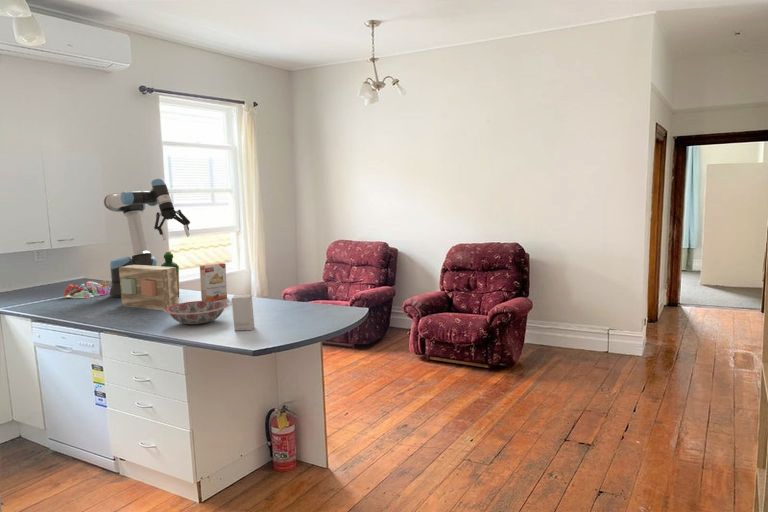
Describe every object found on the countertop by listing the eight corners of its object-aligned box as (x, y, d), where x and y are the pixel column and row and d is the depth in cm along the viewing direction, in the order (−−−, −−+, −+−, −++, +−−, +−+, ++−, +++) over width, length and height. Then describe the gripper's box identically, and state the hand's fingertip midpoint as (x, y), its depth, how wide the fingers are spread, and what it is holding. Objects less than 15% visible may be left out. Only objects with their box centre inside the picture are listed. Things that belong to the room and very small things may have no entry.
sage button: (131, 294, 311) (130, 279, 310) (122, 293, 315) (120, 279, 314) (136, 293, 314) (135, 278, 313) (126, 292, 318) (125, 278, 317)
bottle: (177, 299, 333) (173, 252, 330) (159, 300, 334) (155, 253, 330) (183, 296, 344) (180, 250, 340) (166, 296, 344) (162, 250, 341)
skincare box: (254, 327, 264) (252, 294, 262) (252, 330, 257) (250, 297, 255) (236, 327, 263) (234, 294, 261) (233, 331, 257) (231, 297, 255)
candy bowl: (82, 292, 370) (80, 278, 368) (117, 291, 369) (116, 277, 367) (58, 300, 345) (57, 285, 344) (96, 299, 344) (95, 284, 343)
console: (164, 310, 305) (161, 270, 302) (122, 305, 321) (118, 267, 318) (178, 306, 314) (175, 267, 311) (137, 302, 330) (134, 264, 327)
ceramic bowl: (193, 314, 294) (192, 299, 293) (241, 317, 284) (240, 302, 282) (152, 328, 267) (150, 311, 266) (202, 332, 257) (201, 315, 256)
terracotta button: (152, 296, 304) (150, 281, 303) (141, 295, 308) (140, 280, 306) (156, 295, 306) (155, 280, 305) (146, 294, 310) (145, 279, 309)
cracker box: (207, 302, 324) (204, 266, 321) (201, 301, 328) (198, 265, 325) (228, 298, 335) (225, 263, 332) (221, 297, 339) (219, 262, 336)
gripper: (145, 203, 315) (156, 238, 311) (188, 198, 331) (199, 231, 327) (141, 209, 320) (153, 243, 316) (184, 204, 336) (195, 236, 333)
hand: (176, 237), depth 322 cm, fingers open, 13 cm apart
